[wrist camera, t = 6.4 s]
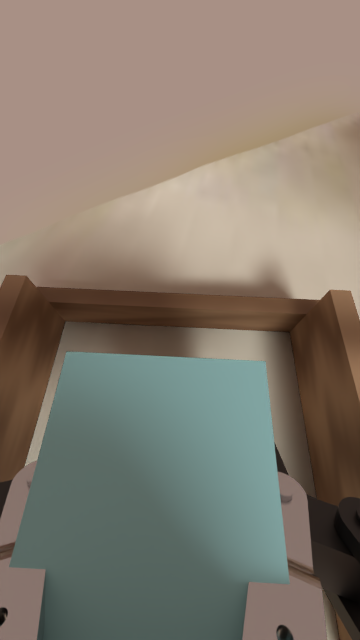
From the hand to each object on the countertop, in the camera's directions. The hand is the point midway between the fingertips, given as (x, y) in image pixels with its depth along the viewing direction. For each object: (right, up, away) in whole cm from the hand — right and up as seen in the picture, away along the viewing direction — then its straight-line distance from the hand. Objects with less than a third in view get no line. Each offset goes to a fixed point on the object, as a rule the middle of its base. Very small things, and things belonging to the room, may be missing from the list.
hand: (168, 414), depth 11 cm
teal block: (0, -4, +4) cm, 6 cm away
